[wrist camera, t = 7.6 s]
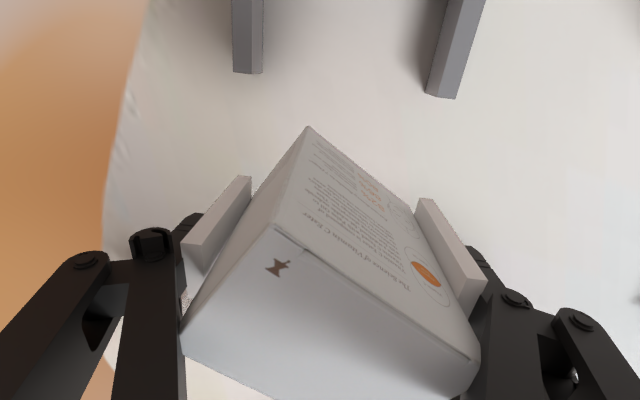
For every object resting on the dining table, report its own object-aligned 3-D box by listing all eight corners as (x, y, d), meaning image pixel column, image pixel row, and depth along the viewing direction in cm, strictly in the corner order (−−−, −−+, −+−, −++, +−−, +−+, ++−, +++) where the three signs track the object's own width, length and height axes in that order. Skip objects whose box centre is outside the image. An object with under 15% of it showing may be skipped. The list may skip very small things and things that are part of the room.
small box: (253, 192, 17) (155, 348, 8) (308, 121, 15) (263, 219, 6) (351, 261, 19) (363, 451, 10) (412, 206, 17) (502, 382, 8)
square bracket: (475, -28, 22) (499, -43, 19) (440, 94, 26) (455, 99, 23) (244, -57, 22) (229, -77, 19) (245, 70, 26) (233, 71, 23)
